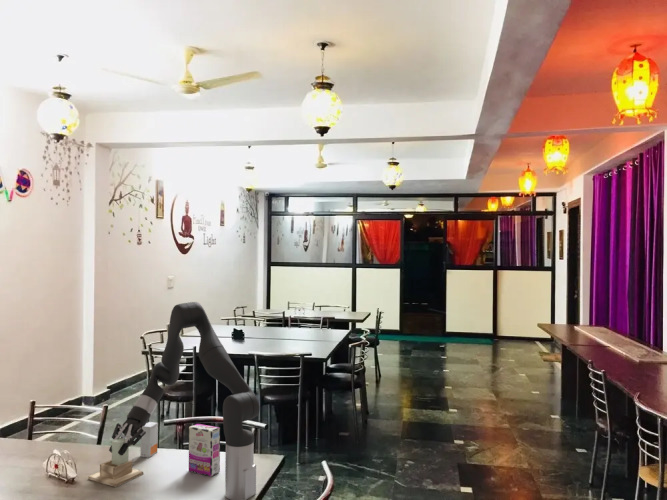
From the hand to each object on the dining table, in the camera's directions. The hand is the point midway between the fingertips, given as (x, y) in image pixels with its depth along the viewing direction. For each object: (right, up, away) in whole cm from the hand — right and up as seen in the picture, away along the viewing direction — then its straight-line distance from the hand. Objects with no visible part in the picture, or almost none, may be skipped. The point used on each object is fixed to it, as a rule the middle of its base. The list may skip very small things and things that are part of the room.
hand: (115, 453), depth 187 cm
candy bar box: (+31, -9, +5) cm, 32 cm away
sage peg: (+1, -4, +2) cm, 5 cm away
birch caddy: (0, -8, 0) cm, 9 cm away
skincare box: (+4, -9, +21) cm, 24 cm away
